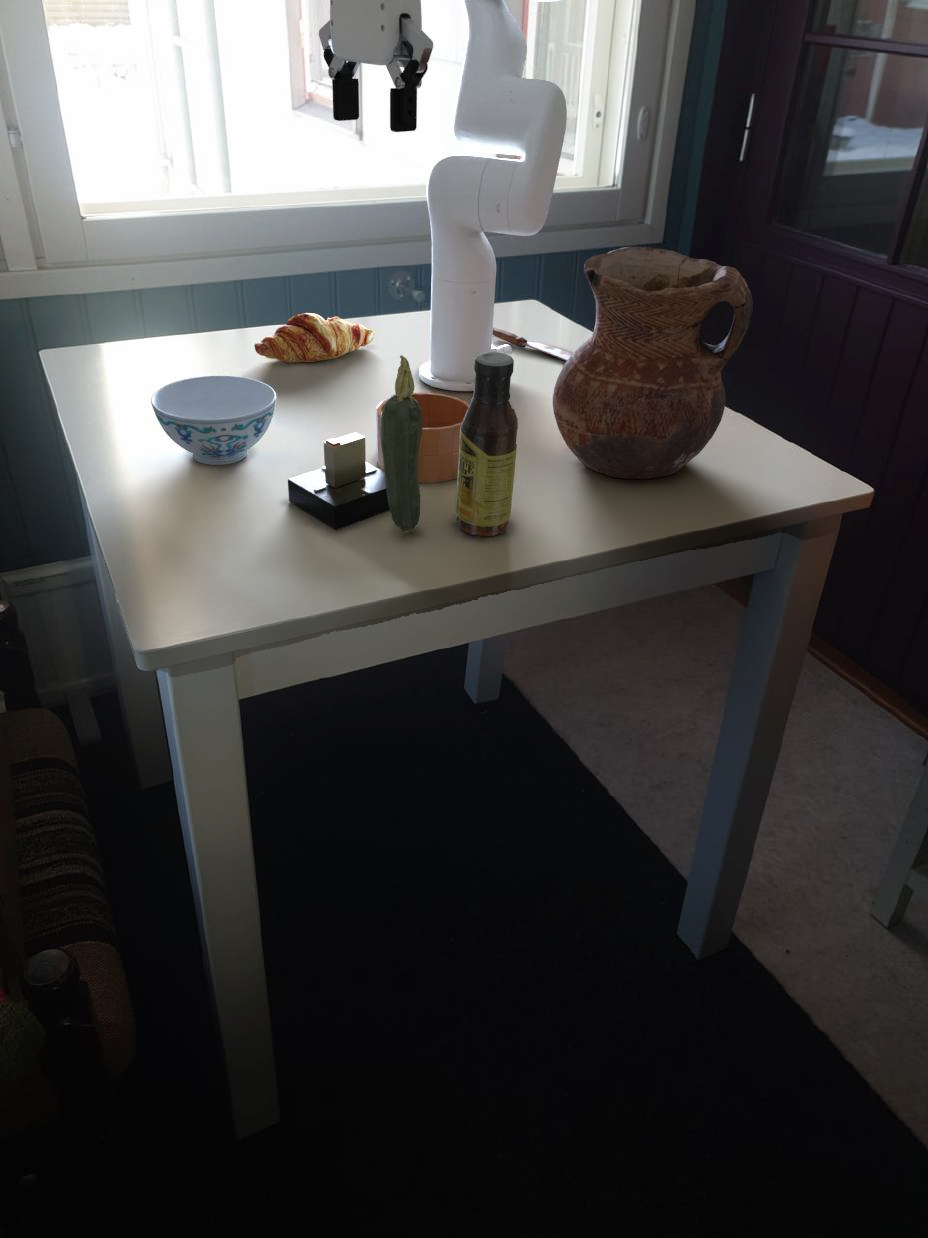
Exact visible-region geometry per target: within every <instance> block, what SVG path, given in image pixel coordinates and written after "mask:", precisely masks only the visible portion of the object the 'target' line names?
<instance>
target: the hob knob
mask: <svg viewBox="0 0 928 1238" xmlns="http://www.w3.org/2000/svg"><path fill="white" fill-rule="evenodd" d="M366 453H367V452H366V437H365V436H364V435H361V434H359V433H358V432H353V433H349V434H347V435H342V436H340V437H337V438H334V437H331V438H328V439H326V440H325V441H324V442H323V458H324V459H323V460H324V466H325V482H326V483H327V484H329V485H331V486H332V487H334V488H336V487H339V486H342V485H344V484H347V483H350V482H353V481H356V480H359V479H362V478H364V477H366V463H367V461H366V457H367V456H366Z"/></svg>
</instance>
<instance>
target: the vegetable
mask: <svg viewBox="0 0 928 1238" xmlns="http://www.w3.org/2000/svg"><path fill="white" fill-rule="evenodd" d="M399 358H400V362H399V363H400V365H399V366H398V369H397V373H396V378H395V382H394V394H392V395H390V397H388V398H389V399H388V398H387V399H388V400H387V402H386V403H385V405H384V407H383V411H382V416H381V447H382V453H383V459H384V467H385V477H386V488H387V498H388V505H389V509H390V510H389V512H390V517H391V520H392V522H393V523H394V525H395V526H396V527H397V528H398V529H399V531H401V533H403V534H404V535H405V534H406V533H409V532H412V533H413V532H416V528H417V526H418V525H419V522H420V518H421V490H420V482H418V455H419V448H420V441H421V435H422V427H423V418H422V411H421V408H420V405H419V404H418V402H417V401H416V400H415V399H414V398H413V397H412V396H411V394H413V393H415V386H416V385H415V381H414V377H413V374H412V370H411V367H410V362H409V360H408V359H407V357H405V356H404V355H402V354H401V355H399Z"/></svg>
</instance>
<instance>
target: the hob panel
mask: <svg viewBox="0 0 928 1238" xmlns="http://www.w3.org/2000/svg"><path fill="white" fill-rule="evenodd" d="M287 489H288V492H287V493H288V503H290V504H291V505H293V506H294V507H297V508H298V509H299V510H301V511H303V512H305V513H306V514H308V515H309V516H311V517H313V518H314V519H316V520H317V521H319V522H321V523H323V524H324V525H326V526H328V527H329V528H331V529H332V530H335V531H338V530H341V529H343V528H347V527H349V526H351V525H355V524H357V523H359V522H362V521H364V520H367V519H370V518H373V517H375V516H378V515H380V514H383V513H385V512H388V511H389V512H390V509H389V505H388V498H387V488H386V477H385V472H384V471H382V470H381V469H380V468H379V467H376V466H374V465H372V464H370V463H368V462H366V477H364V478H362V479H359V480H356V481H353V482H350V483H347V484H344V485H342V486H339V487H336V488H334V487H332V486H331V485H329V484H327V483H326V482H325V465H323V466H321V468H317V469H314V470H310V471H308V472H305V473H302V474H299V475H295V476H292V477H290V478H287Z"/></svg>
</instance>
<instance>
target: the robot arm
mask: <svg viewBox="0 0 928 1238" xmlns="http://www.w3.org/2000/svg"><path fill="white" fill-rule="evenodd" d="M532 1H535V2H559V1H561V0H532ZM459 2H460V5H461V7H460V8H461V11H462V15H463V20H464V25H465V32H466V33H465V35H466V37H465V38H466V44H465V49H464V55H463V60H462V65H461V66H462V67H461V70H460V75H459V80H458V83H457V85H458V86H457V88H456V89H457V90H456V94H455V99H454V106H453V111H452V120H451V131H452V135H453V138H454V140H455V141H456V142H457V144H459V145H460V146H461V147H463V148H465V149H468V150H471V151H475V152H482V153H488V154H489V153H490V154H498V155H509V156H510V155H511V156H518V157H523V158H522V159H510V158H499V157H494V156H485V155H475V154H462V153H461V154H458V153H457V154H450V155H449V154H448V155H446V156H443V157H441V158H439V159H437V160H436V161H435V163H433V165H432V166H431V168H430V169H429V172H428V175H427V178H426V185H425V186H426V190H425V192H426V194H425V195H426V202H427V209H428V218H429V224H430V234H431V277H430V278H431V281H430V285H431V286H430V289H431V290H430V322H429V323H430V324H429V325H430V326H429V330H430V331H429V361H427V362H425V363H423V364H422V365H420V367H419V373H418V375H419V379H420V380H421V381H422V382H423V383H425V384H426V385H428V386H430V387H433V388H437V389H441V390H444V391H445V390H447V391H453V392H474V389H475V371H474V362H475V357H476V356H478V355H479V354H481V353H484V352H485V353H486V352H499V353H503V354H507V355H509V356H511V357H512V354H513V348H512V346H511V345H510V344H503V345H500V346H498V347H496V346H494V344H493V335H492V334H493V328H494V316H495V314H494V313H495V300H496V299H495V298H496V281H497V279H496V278H497V261H496V260H497V259H496V255H495V252H494V250H493V247H492V245H491V243H490V241H489V240H488V238H487V237H486V234H485V233H494V234H504V235H509V236H510V235H511V236H518V237H519V236H520V237H521V236H522V237H530V236H534V235H536V234H538V233H539V232H540V231H541V230H542V229H543V227H544V226H545V224H546V221H547V218H548V215H549V212H550V207H551V203H552V200H553V199H552V198H553V193H554V189H555V183H556V179H557V175H558V170H559V165H560V162H561V161H560V160H561V155H562V150H563V147H564V140H565V136H566V131H567V130H566V129H567V117H568V109H567V100H566V96H565V94H564V91H563V90H562V89H561V88H560V86H558V85H557V84H556V83H555V82H552V81H550V80H549V81H548V80H545V79H539V78H537V79H536V78H526V77H525V78H523V75H524V69H525V63H526V59H527V54H528V45H527V40H526V38H525V35H524V32H523V31H522V28H521V26H520V24H519V23H518V21H517V20H516V18H515V16H514V15H513V13H512V12H511V11H510V9H509V8H508V6H507V4H506V2H505V0H459ZM329 15H330V16H329V20H328V21H327V22H326V23H325V24H323V26H321V28H319V30H318V37H319V40H320V43H321V44H320V45H321V48H322V50H323V59H324V61H325V63H326V65H327V68H328V70H327V71H328V72H327V73H328V76H329V77H328V78H330V79H331V83H332V84H331V86H332V89H331V91H332V117H333V120H334V121H338V122H343V121H344V122H345V121H357V120H359V118H360V87H359V86H360V84H359V83H360V82H359V78H355V75H356V74H357V71H358V69H359V67H360V65H361V64H367V65H372V66H373V65H375V66H385V67H386V70H387V72H388V74H389V76H390V78H391V81H392V83H393V85H394V87H391V88H390V89H389V129H390V131H391V132H393V133H405V132H415V131H416V130H417V126H418V123H417V122H418V89H420V88H421V87H422V83H423V81H422V79H423V78H424V76H425V75H426V73H427V72H428V69H429V65H428V63H429V61H430V59H431V56H432V52H433V49H434V43H433V40H432V39H431V38H430V37H429V36H428V34H426V33H425V32H424V31H423V21H422V19H423V18H422V17H423V15H422V0H329ZM401 68H403V71H402V69H401Z"/></svg>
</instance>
